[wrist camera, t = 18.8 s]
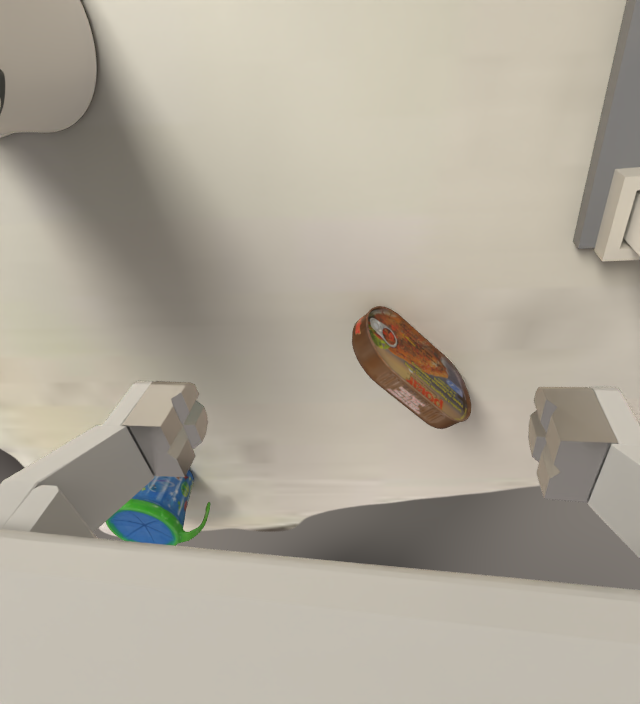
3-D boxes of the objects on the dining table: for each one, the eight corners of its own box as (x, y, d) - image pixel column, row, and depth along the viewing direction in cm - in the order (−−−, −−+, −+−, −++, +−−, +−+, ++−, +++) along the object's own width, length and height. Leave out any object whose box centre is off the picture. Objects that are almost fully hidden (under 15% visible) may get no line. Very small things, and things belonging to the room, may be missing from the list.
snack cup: (228, 472, 67) (203, 534, 59) (210, 505, 73) (186, 565, 65) (129, 432, 65) (89, 491, 57) (119, 469, 71) (83, 527, 63)
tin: (469, 377, 49) (478, 435, 42) (446, 391, 50) (451, 448, 44) (373, 290, 44) (367, 339, 38) (351, 309, 46) (341, 359, 39)
